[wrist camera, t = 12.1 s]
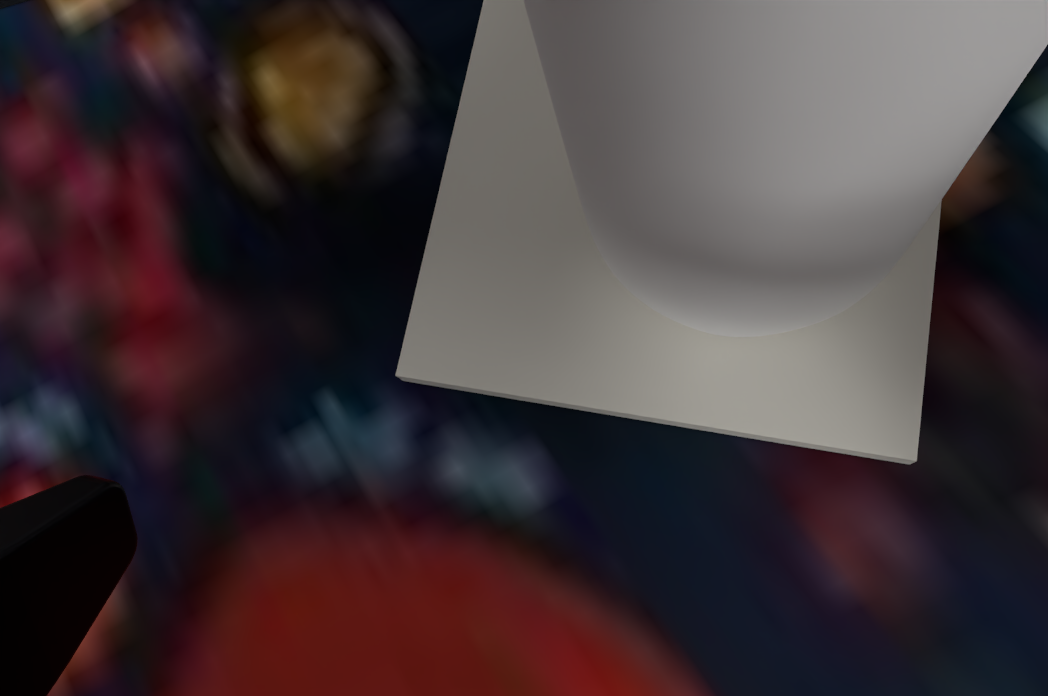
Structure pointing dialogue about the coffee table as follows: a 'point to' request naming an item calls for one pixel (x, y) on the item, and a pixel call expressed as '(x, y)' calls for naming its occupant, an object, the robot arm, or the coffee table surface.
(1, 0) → the dark grey square frame
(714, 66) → the can
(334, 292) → the coffee table surface
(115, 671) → the coffee table surface
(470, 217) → the pad
